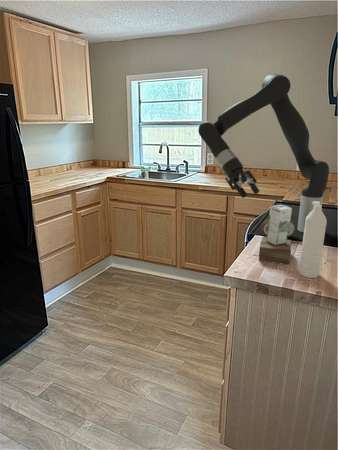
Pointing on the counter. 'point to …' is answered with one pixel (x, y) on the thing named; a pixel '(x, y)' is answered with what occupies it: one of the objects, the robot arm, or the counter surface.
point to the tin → (290, 232)
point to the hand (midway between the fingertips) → (251, 194)
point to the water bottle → (313, 242)
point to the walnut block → (274, 252)
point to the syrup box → (278, 224)
